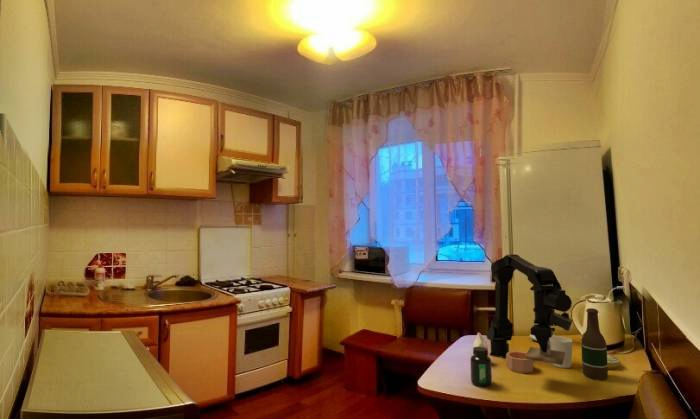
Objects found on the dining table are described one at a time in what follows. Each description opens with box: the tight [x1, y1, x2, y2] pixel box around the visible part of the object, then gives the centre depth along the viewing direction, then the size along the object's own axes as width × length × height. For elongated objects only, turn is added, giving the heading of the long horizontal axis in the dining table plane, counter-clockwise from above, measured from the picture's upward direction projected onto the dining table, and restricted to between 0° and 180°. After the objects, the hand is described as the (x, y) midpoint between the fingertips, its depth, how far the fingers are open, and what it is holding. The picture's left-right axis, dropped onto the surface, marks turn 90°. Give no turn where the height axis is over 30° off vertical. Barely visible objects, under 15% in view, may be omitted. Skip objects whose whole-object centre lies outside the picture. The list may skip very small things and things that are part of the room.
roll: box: [472, 332, 489, 350], centre depth 150 cm, size 6×12×6 cm
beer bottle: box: [580, 307, 609, 381], centre depth 136 cm, size 8×8×24 cm
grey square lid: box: [525, 341, 565, 365], centre depth 130 cm, size 11×11×5 cm
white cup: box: [549, 335, 573, 369], centre depth 146 cm, size 8×8×10 cm
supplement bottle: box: [470, 347, 493, 388], centre depth 131 cm, size 7×7×12 cm
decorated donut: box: [607, 353, 622, 370], centre depth 146 cm, size 10×11×4 cm
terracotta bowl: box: [505, 350, 535, 374], centre depth 144 cm, size 9×9×5 cm
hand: (545, 350), depth 130 cm, fingers closed on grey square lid, 3 cm apart
